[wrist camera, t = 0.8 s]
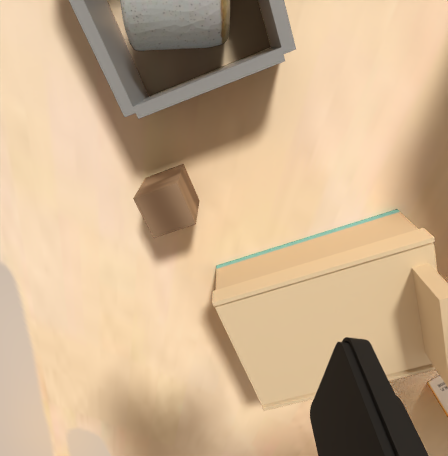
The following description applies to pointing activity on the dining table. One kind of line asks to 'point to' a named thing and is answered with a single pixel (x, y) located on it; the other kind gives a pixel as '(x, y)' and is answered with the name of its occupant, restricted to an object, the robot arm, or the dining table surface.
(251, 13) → the dining table surface
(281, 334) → the lid
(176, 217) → the walnut block
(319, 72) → the dining table surface
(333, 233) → the base
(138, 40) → the ceramic mug
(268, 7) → the coaster tray
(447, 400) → the packaging box
